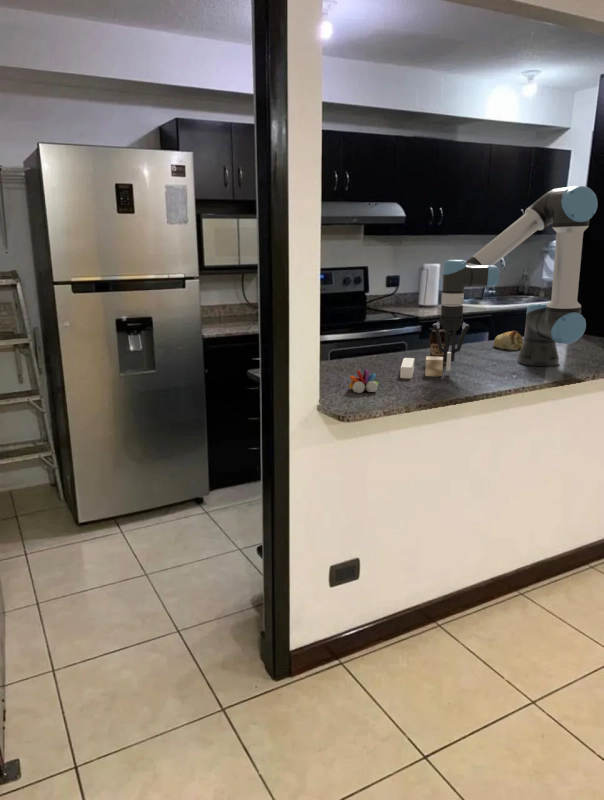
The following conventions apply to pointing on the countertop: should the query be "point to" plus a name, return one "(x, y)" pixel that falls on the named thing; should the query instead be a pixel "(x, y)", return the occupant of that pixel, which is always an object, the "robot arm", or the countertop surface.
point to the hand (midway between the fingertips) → (448, 370)
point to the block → (434, 366)
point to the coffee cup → (434, 344)
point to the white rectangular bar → (407, 368)
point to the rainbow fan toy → (364, 382)
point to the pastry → (509, 341)
